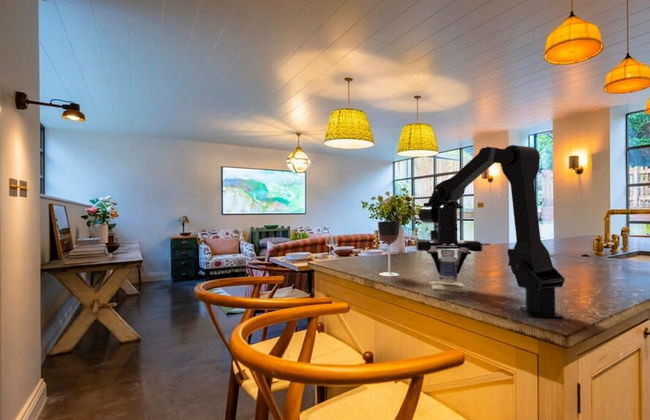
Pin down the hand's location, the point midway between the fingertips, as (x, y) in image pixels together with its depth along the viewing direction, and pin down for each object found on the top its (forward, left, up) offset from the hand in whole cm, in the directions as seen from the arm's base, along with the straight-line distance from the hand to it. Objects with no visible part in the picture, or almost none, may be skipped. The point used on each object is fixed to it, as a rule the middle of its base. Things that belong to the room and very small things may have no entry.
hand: (448, 273), depth 101 cm
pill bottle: (0, 0, -3) cm, 3 cm away
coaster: (0, 0, -4) cm, 4 cm away
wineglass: (+19, +18, -5) cm, 27 cm away
